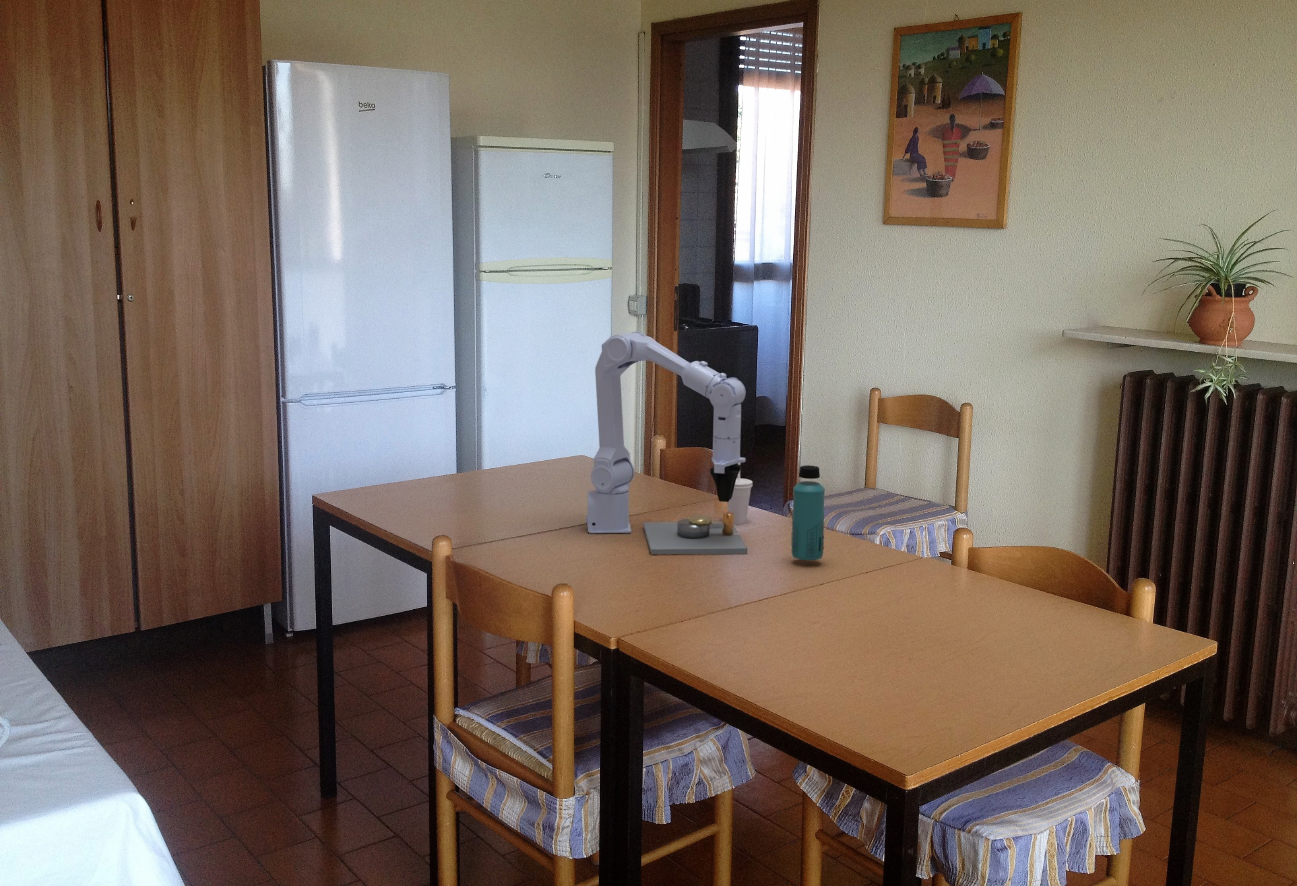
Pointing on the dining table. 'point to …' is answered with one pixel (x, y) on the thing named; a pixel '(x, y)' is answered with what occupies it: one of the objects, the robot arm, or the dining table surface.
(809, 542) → the beverage bottle
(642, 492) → the dining table surface
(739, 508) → the smoothie
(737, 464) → the robot arm
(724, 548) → the stand
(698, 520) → the crank
